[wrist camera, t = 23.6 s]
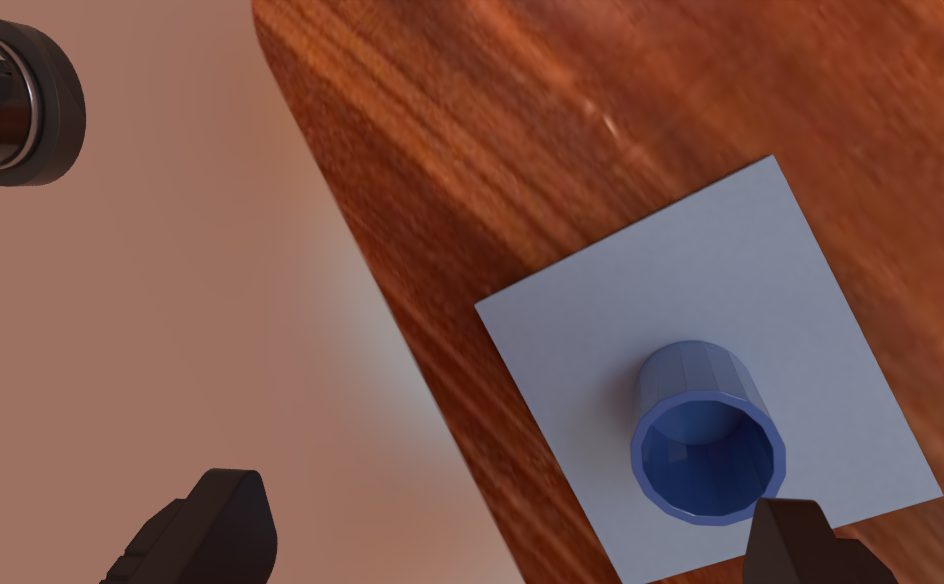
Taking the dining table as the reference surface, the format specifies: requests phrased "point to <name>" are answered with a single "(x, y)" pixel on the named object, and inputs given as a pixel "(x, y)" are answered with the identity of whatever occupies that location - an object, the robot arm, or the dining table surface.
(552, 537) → the dining table surface
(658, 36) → the dining table surface
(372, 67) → the dining table surface
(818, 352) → the blue mat
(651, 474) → the blue cup
